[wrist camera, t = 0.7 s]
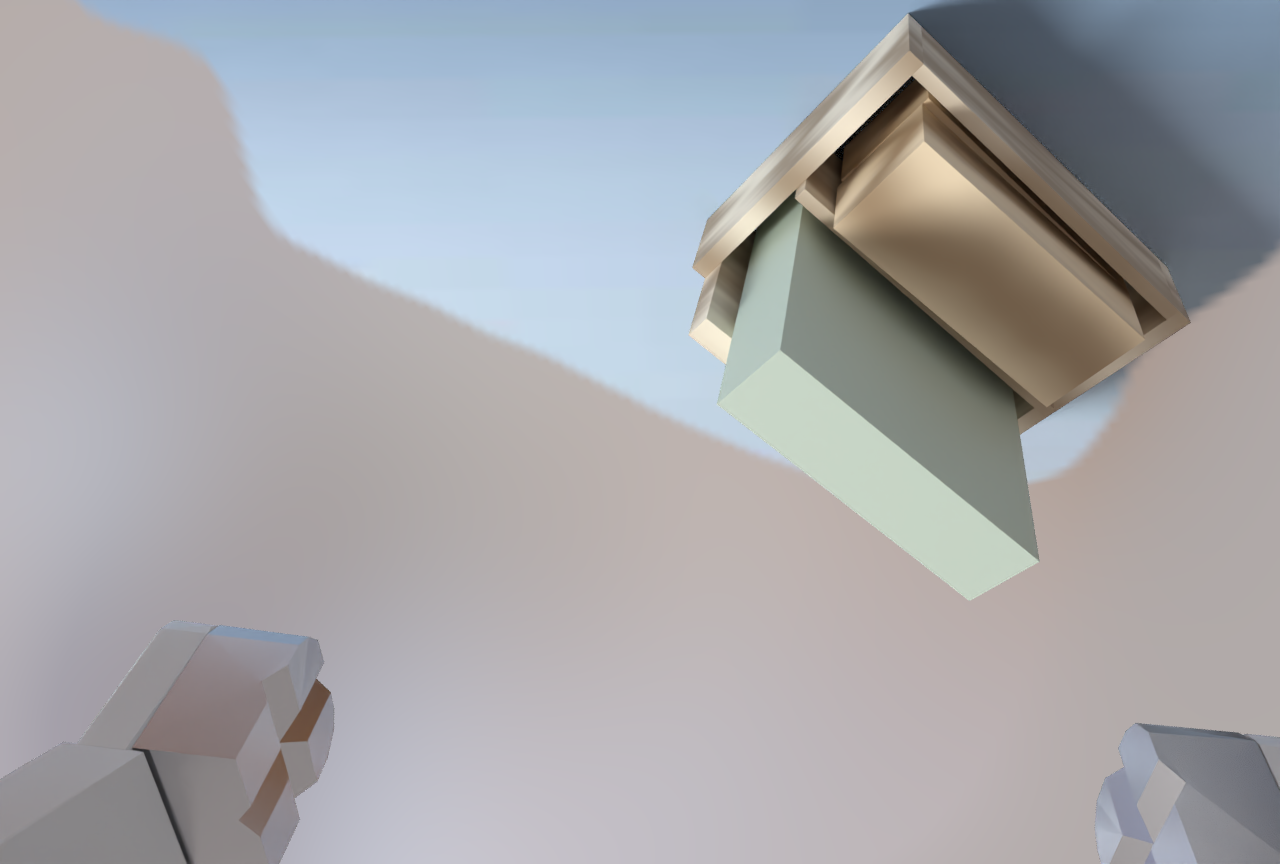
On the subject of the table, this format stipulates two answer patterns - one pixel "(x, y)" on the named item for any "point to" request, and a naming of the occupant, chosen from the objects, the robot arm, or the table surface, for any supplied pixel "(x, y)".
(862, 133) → the lower offcut
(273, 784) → the robot arm
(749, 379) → the sheet
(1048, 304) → the upper offcut
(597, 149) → the table surface
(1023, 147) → the box
